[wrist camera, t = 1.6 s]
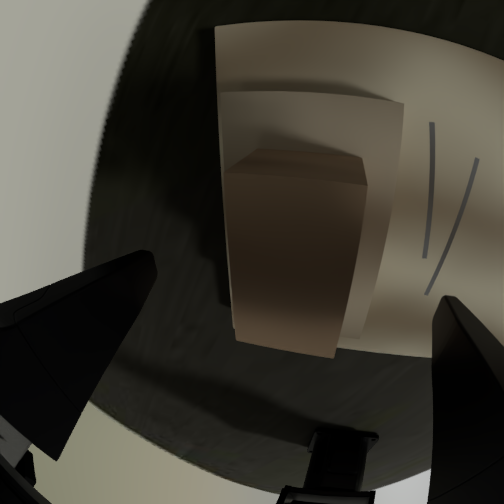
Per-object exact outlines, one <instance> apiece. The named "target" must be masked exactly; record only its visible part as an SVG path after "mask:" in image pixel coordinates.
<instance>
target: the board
mask: <svg viewBox="0 0 504 504" xmlns="http://www.w3.org/2000/svg"><path fill="white" fill-rule="evenodd" d="M215 53H216V81H217V104H218V125H219V143H220V161H221V177H222V193H223V208H224V222H225V235H226V248H227V261H228V273H229V285H230V296H231V308H232V319H233V328H234V329H235V323H234V312H233V300H232V288H231V276H230V263H229V250H228V236H227V222H226V207H225V192H224V175H223V172H224V158H223V139H222V118H221V96H220V93H222V92H238V91H299V92H318V93H332V94H343V95H352V96H361V97H369V98H376V99H383V100H389V101H395V102H400V103H404V116H403V129H402V140H401V150H400V159H399V167H398V174H397V181H396V188H395V194H394V201H393V206H392V212H391V218H390V223H389V228H388V233H387V238H386V243H385V247H384V252H383V256H382V260H381V265H380V269H379V273H378V277H377V281H376V285H375V289H374V292H373V296H372V300H371V303H370V307H369V310H368V314H367V317H366V320H365V324H364V327H363V330H362V333H361V336H360V339H353V338H346V337H339V340H338V344H337V347H339V348H346V349H354V350H361V351H369V352H378V353H386V354H396V355H406V356H417V357H430V358H432V319H433V316H434V314H435V311H436V309H437V307H438V304H439V302H440V300H441V298H442V296H444V295H450V296H455V297H457V298H458V299H459V300H460V301H461V302H462V303H463V304H464V305H465V306H466V307H467V308H468V309H469V310H470V311H471V312H472V313H473V314H474V315H475V316H476V317H477V318H478V319H479V320H480V321H481V322H482V323H483V324H484V325H485V326H486V327H487V329H488V330H489V331H490V332H491V333H492V334H493V335H494V336H495V337H496V338H497V339H498V340H499V342H500V343H501V344H502V345H503V346H504V61H503V60H500V59H498V58H496V57H493V56H491V55H488V54H485V53H483V52H480V51H477V50H474V49H471V48H469V47H466V46H462V45H459V44H456V43H453V42H449V41H446V40H442V39H439V38H435V37H431V36H427V35H423V34H418V33H414V32H409V31H404V30H399V29H393V28H387V27H380V26H373V25H366V24H357V23H346V22H332V21H266V22H252V23H241V24H232V25H224V26H216V27H215Z"/></svg>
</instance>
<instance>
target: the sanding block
mask: <svg viewBox="0 0 504 504" xmlns="http://www.w3.org/2000/svg"><path fill="white" fill-rule="evenodd" d="M220 96H221V118H222V139H223V158H224V172H223V175H224V192H225V207H226V222H227V236H228V250H229V263H230V276H231V288H232V300H233V312H234V323H235V334H236V340H237V341H242V342H247V343H251V344H256V345H261V346H266V347H271V348H276V349H281V350H286V351H292V352H297V353H303V354H309V355H315V356H321V357H327V358H334V355H335V351H336V348H337V344H338V340H339V337H346V338H353V339H360V336H361V333H362V330H363V327H364V324H365V320H366V317H367V314H368V310H369V307H370V303H371V300H372V296H373V292H374V289H375V285H376V281H377V277H378V273H379V269H380V265H381V260H382V256H383V252H384V247H385V243H386V238H387V233H388V228H389V223H390V218H391V212H392V206H393V201H394V194H395V188H396V181H397V174H398V167H399V159H400V150H401V140H402V129H403V116H404V103H400V102H395V101H389V100H383V99H376V98H369V97H361V96H352V95H343V94H332V93H318V92H299V91H238V92H222V93H220Z"/></svg>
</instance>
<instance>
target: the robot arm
mask: <svg viewBox="0 0 504 504" xmlns="http://www.w3.org/2000/svg"><path fill="white" fill-rule="evenodd" d="M156 279H157V269H156V264H155V260H154V256H153V253H152V252H150V251H146V250H138V251H136V252H133V253H130V254H128V255H125V256H122V257H119V258H117V259H114V260H111V261H109V262H106V263H104V264H101V265H98V266H96V267H93V268H91V269H88V270H85V271H83V272H80V273H78V274H75V275H73V276H70V277H68V278H65V279H63V280H60V281H58V282H55V283H53V284H51V285H48V286H45V287H43V288H41V289H38V290H35V291H33V292H30V293H28V294H25V295H22V296H20V297H17V298H14V299H11V300H9V301H6V302H3V303H0V504H51V503H50V502H49V501H48V500H47V499H46V498H44V497H43V496H42V495H41V494H40V493H39V492H38V491H37V490H36V489H35V488H34V485H35V484H36V477H35V471H34V463H33V454H32V453H31V452H30V451H29V450H28V448H29V447H30V445H31V444H32V443H33V444H34V445H35V446H36V447H38V448H39V449H40V450H42V451H43V452H44V453H45V454H47V455H48V456H49V457H51V458H52V459H53V460H55V461H57V460H58V459H59V457H60V455H61V453H62V451H63V449H64V447H65V445H66V443H67V441H68V439H69V437H70V435H71V433H72V431H73V429H74V427H75V425H76V423H77V421H78V419H79V417H80V416H81V413H82V412H83V410H84V408H85V406H86V404H87V402H88V400H89V399H90V397H91V395H92V393H93V391H94V390H95V388H96V386H97V384H98V382H99V381H100V379H101V377H102V375H103V374H104V372H105V370H106V368H107V367H108V365H109V363H110V361H111V360H112V358H113V356H114V355H115V353H116V351H117V349H118V348H119V346H120V344H121V343H122V341H123V339H124V338H125V336H126V334H127V333H128V331H129V330H130V328H131V326H132V325H133V323H134V321H135V320H136V318H137V316H138V315H139V313H140V311H141V309H142V307H143V305H144V303H145V301H146V299H147V297H148V295H149V293H150V291H151V289H152V287H153V285H154V283H155V281H156ZM432 387H433V449H432V465H431V476H430V486H429V494H428V502H427V504H504V346H503V345H502V344H501V343H500V342H499V340H498V339H497V338H496V337H495V336H494V335H493V334H492V333H491V332H490V331H489V330H488V329H487V327H486V326H485V325H484V324H483V323H482V322H481V321H480V320H479V319H478V318H477V317H476V316H475V315H474V314H473V313H472V312H471V311H470V310H469V309H468V308H467V307H466V306H465V305H464V304H463V303H462V302H461V301H460V300H459V299H458V298H457V297H455V296H450V295H444V296H442V298H441V300H440V302H439V304H438V307H437V309H436V311H435V314H434V316H433V319H432ZM378 440H379V435H376V434H364V433H353V432H344V431H336V430H329V429H322V428H317V429H315V431H314V434H313V436H312V439H311V441H310V444H309V446H308V449H307V452H309V453H312V455H311V459H310V463H309V467H308V471H307V474H306V478H305V482H304V485H303V488H297V487H292V486H288V485H286V486H285V488H282V490H281V493H280V496H279V498H278V500H277V503H276V504H374V499H375V492H376V491H361V488H362V482H363V476H364V470H365V463H366V456H367V453H368V452H369V450H370V449H371V448H372V447H373V446H374V445H375V444H376V442H377V441H378Z"/></svg>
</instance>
